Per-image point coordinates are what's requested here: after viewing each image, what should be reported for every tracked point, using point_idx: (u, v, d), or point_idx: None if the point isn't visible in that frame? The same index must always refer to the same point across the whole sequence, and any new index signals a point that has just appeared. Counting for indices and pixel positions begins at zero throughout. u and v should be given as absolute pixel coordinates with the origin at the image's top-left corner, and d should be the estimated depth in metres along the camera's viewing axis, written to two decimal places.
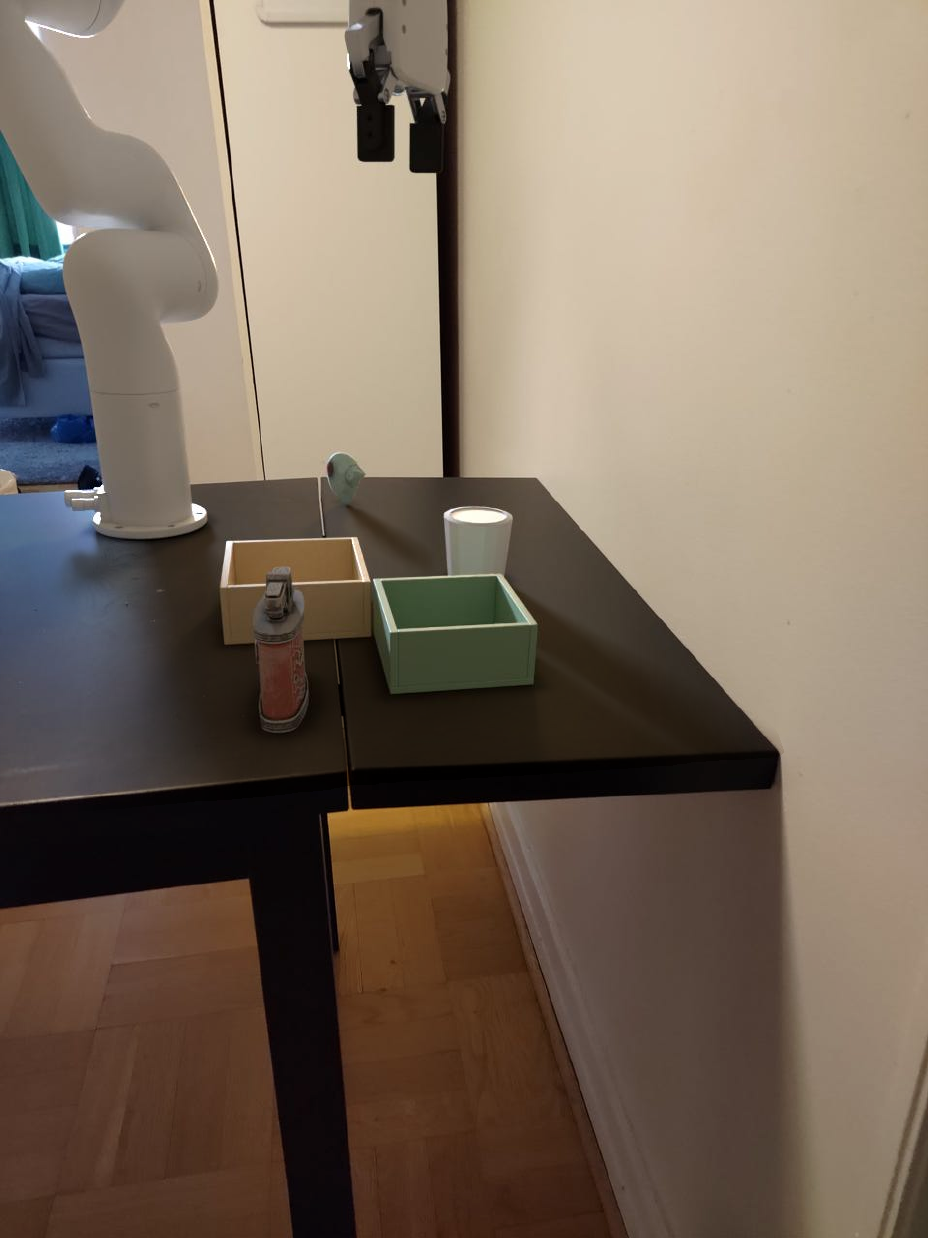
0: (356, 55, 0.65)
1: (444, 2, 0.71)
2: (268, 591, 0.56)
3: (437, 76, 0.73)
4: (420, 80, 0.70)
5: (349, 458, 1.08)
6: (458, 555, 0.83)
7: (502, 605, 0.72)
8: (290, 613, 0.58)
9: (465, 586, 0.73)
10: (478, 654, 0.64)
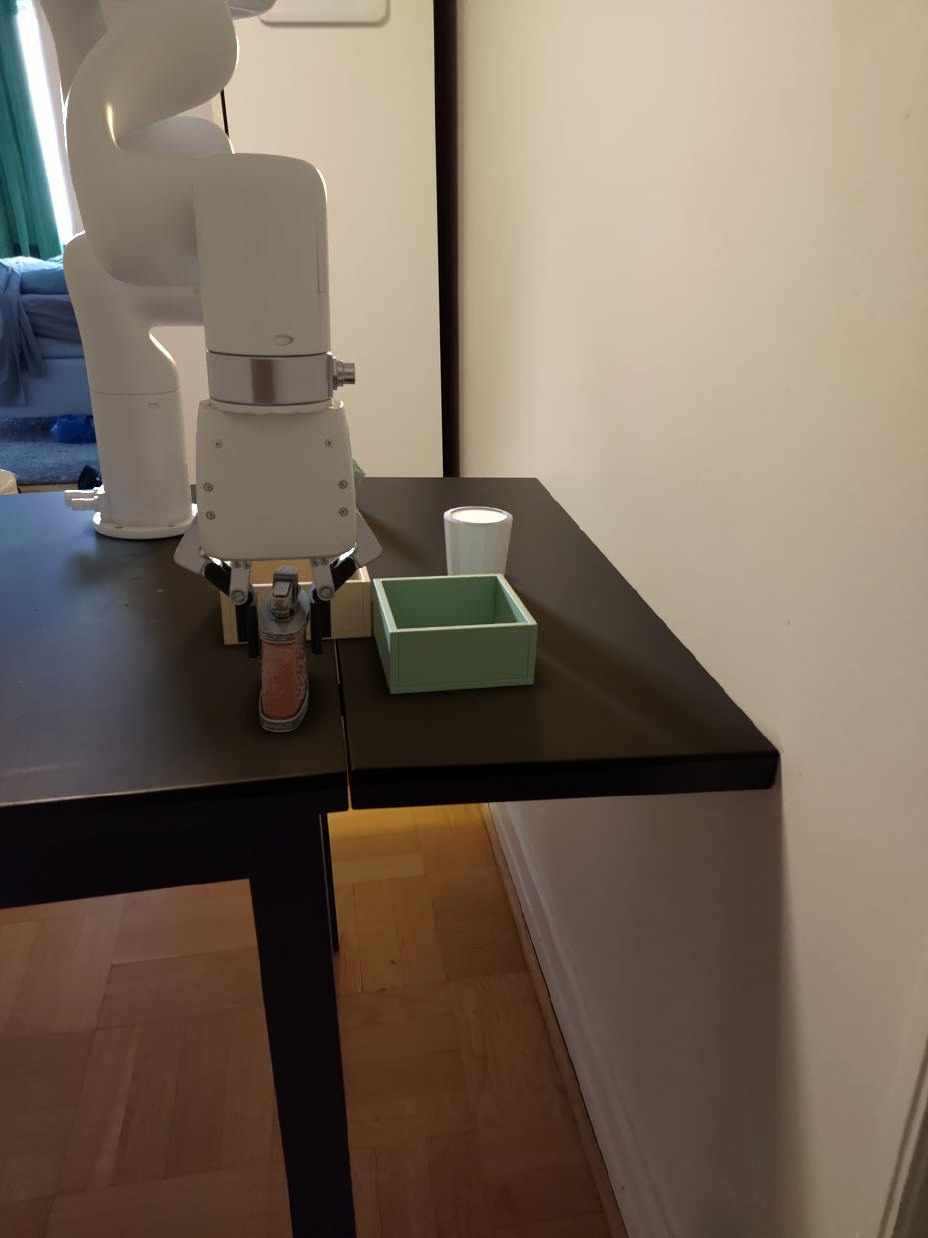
0: None
1: (328, 461, 0.53)
2: (276, 590, 0.56)
3: (316, 544, 0.55)
4: (268, 557, 0.55)
5: None
6: (458, 555, 0.83)
7: (502, 605, 0.72)
8: (295, 613, 0.58)
9: (465, 586, 0.73)
10: (478, 654, 0.64)
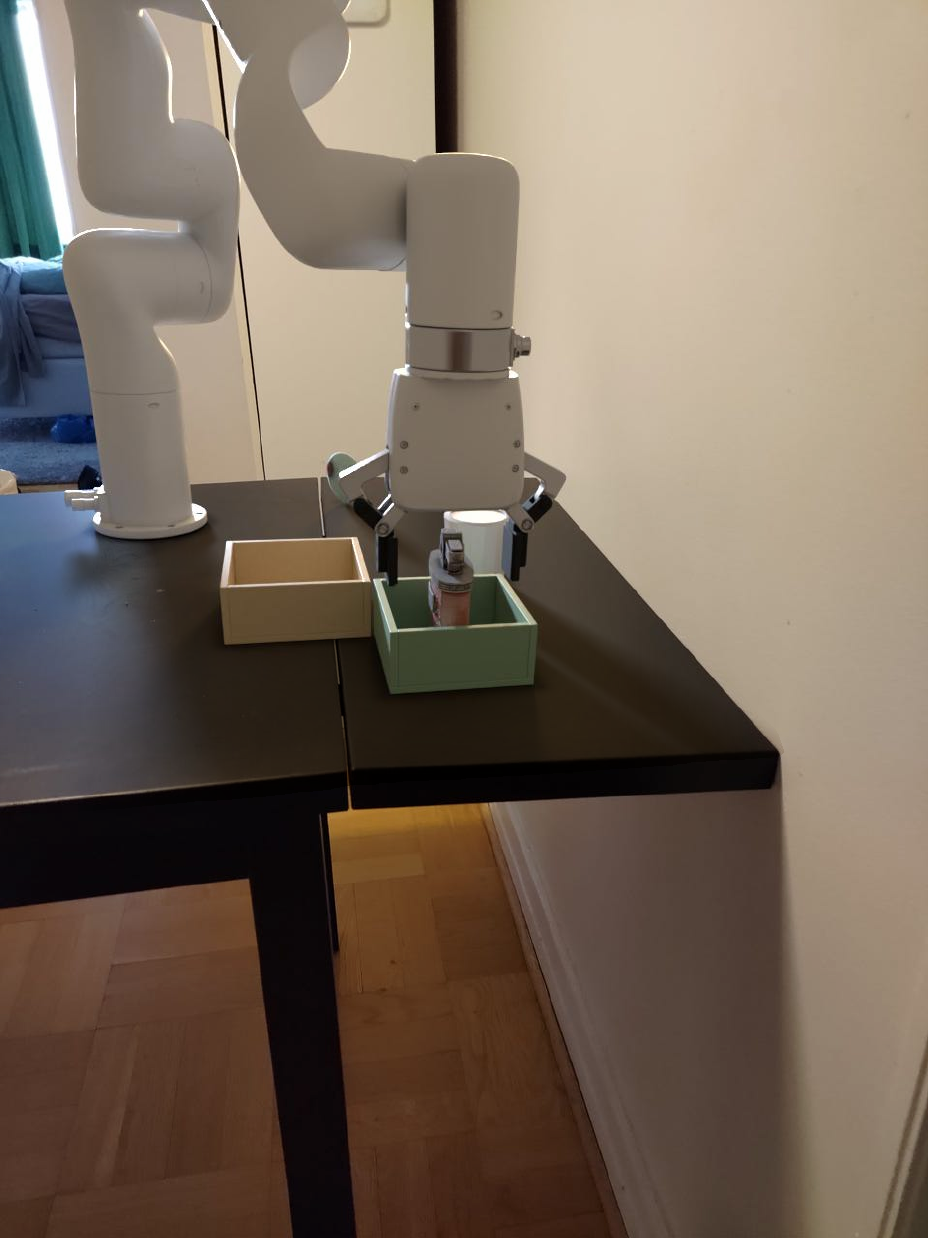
0: None
1: (506, 423, 0.61)
2: (452, 546, 0.63)
3: (490, 497, 0.63)
4: (448, 507, 0.63)
5: (349, 458, 1.08)
6: None
7: (502, 605, 0.72)
8: (462, 567, 0.66)
9: None
10: (478, 654, 0.64)
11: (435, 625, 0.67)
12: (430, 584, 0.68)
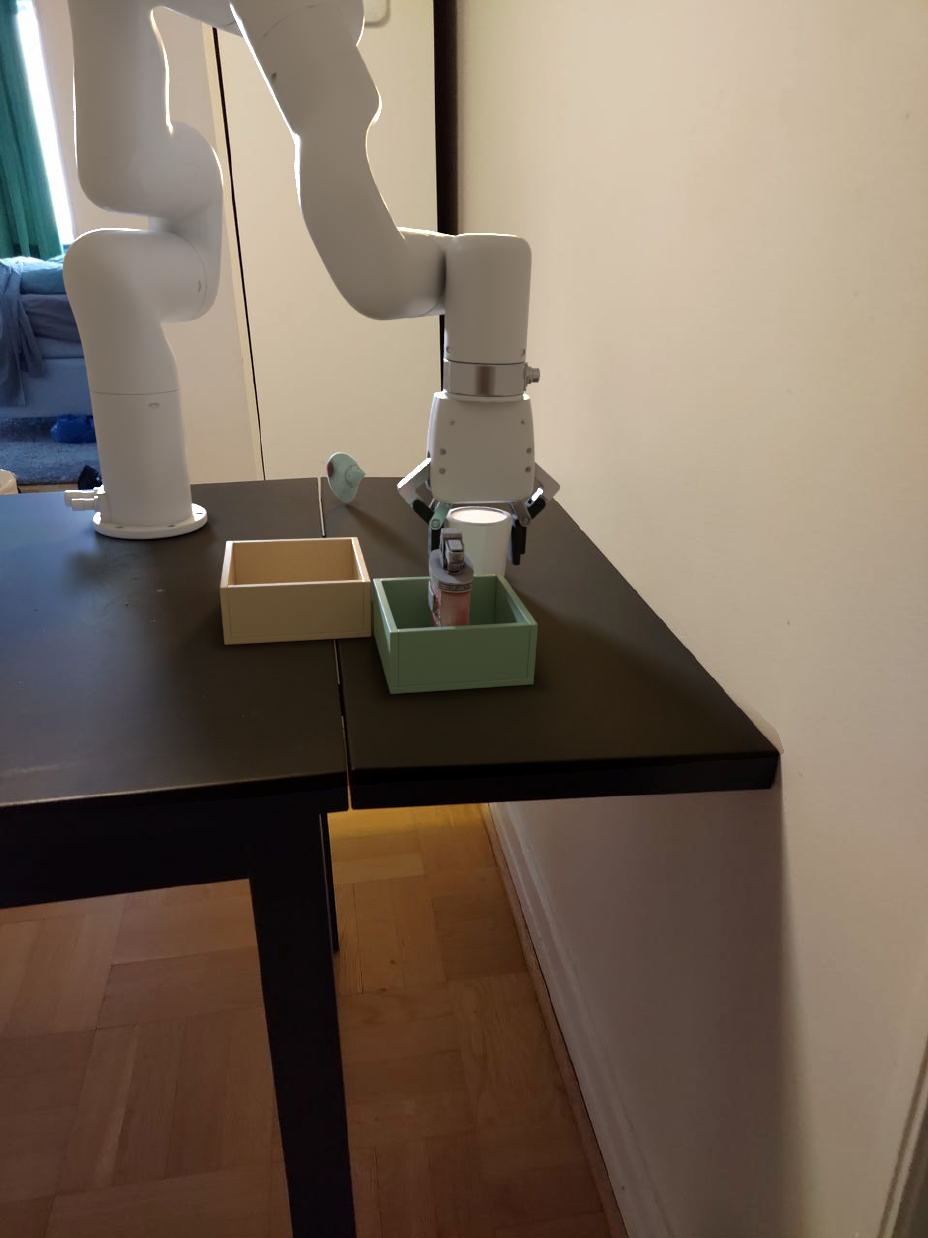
0: None
1: (521, 434, 0.79)
2: (452, 546, 0.63)
3: (508, 491, 0.81)
4: (475, 500, 0.81)
5: (349, 458, 1.08)
6: None
7: (502, 605, 0.72)
8: (462, 567, 0.66)
9: None
10: (478, 654, 0.64)
11: (435, 625, 0.67)
12: (430, 584, 0.68)
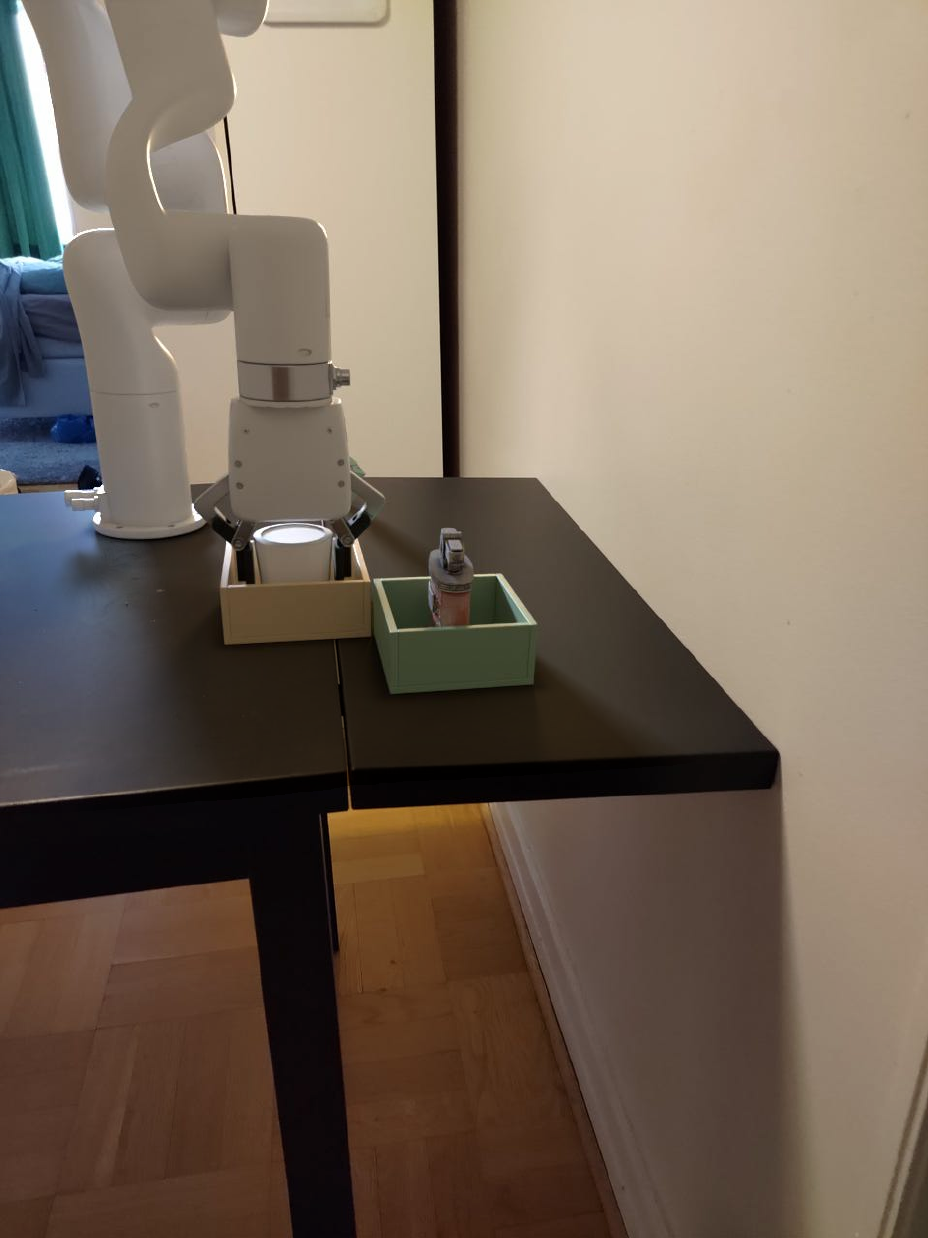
0: None
1: (329, 444, 0.70)
2: (452, 546, 0.63)
3: (320, 509, 0.72)
4: (283, 518, 0.72)
5: (349, 458, 1.08)
6: (268, 579, 0.73)
7: (502, 605, 0.72)
8: (462, 567, 0.66)
9: None
10: (478, 654, 0.64)
11: (435, 625, 0.67)
12: (430, 584, 0.68)
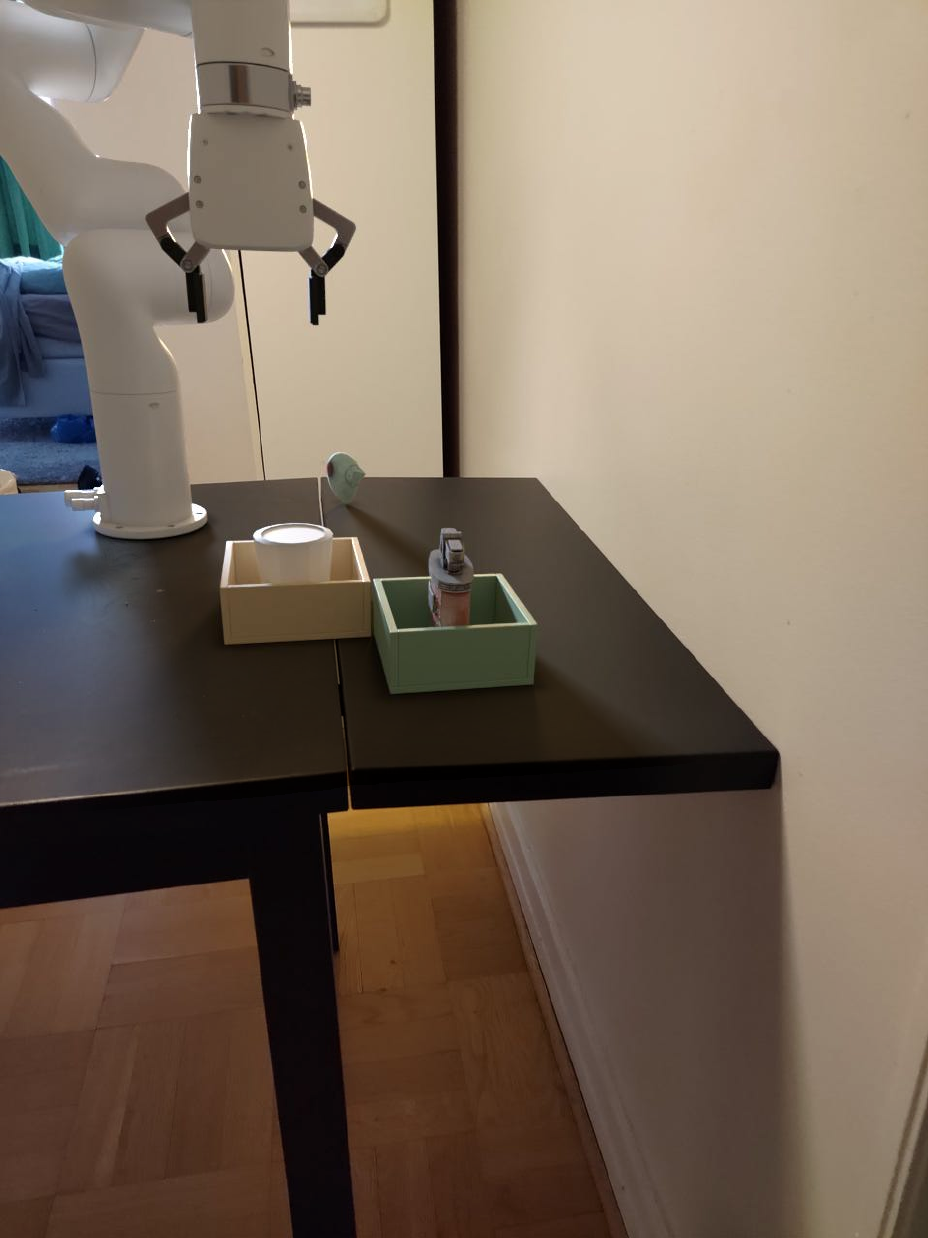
0: (154, 234, 0.71)
1: (290, 162, 0.69)
2: (452, 546, 0.63)
3: (282, 236, 0.71)
4: (244, 244, 0.71)
5: (349, 458, 1.08)
6: (268, 579, 0.73)
7: (502, 605, 0.72)
8: (462, 567, 0.66)
9: None
10: (478, 654, 0.64)
11: (435, 625, 0.67)
12: (430, 584, 0.68)
